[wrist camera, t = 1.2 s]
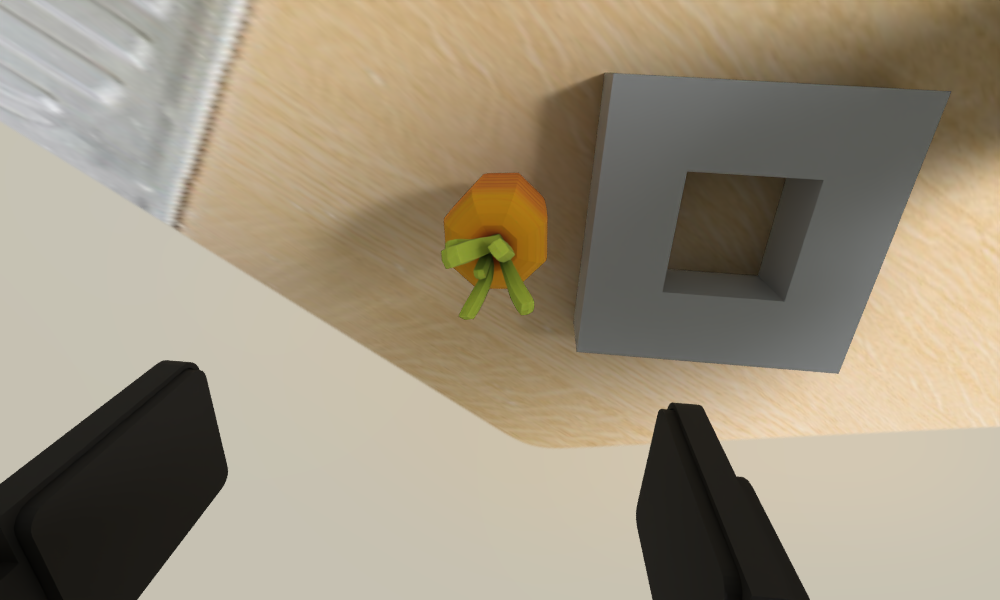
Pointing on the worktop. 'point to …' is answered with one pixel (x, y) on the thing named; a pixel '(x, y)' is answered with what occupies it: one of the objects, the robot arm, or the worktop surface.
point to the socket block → (795, 231)
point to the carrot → (497, 239)
